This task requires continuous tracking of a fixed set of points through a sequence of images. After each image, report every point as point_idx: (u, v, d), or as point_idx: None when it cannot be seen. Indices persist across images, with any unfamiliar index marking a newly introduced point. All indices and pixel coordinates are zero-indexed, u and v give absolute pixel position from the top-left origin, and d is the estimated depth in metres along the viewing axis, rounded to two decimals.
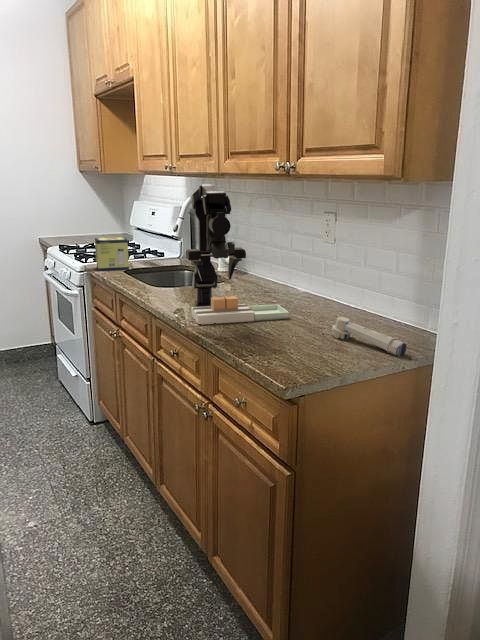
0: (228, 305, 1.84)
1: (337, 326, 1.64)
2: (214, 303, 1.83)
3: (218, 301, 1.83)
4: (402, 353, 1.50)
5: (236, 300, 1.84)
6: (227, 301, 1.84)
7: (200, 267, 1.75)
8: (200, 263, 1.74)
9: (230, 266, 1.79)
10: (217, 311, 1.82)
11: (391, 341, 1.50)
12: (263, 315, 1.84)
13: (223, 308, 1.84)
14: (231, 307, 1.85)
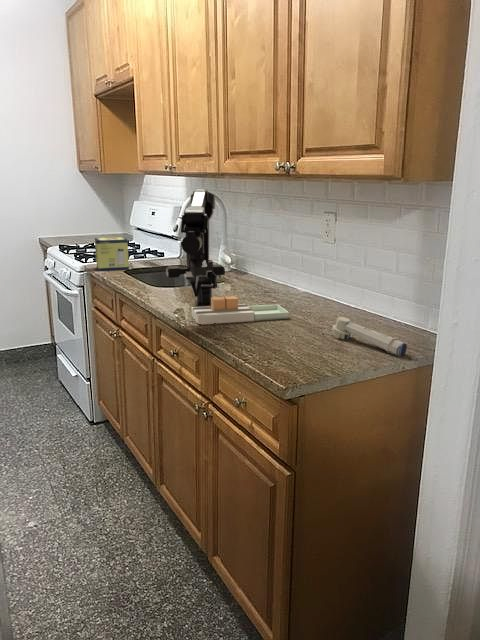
0: (228, 305, 1.84)
1: (337, 326, 1.64)
2: (214, 303, 1.83)
3: (218, 301, 1.83)
4: (402, 353, 1.49)
5: (236, 300, 1.84)
6: (227, 301, 1.84)
7: (193, 283, 1.80)
8: (193, 279, 1.79)
9: (197, 283, 1.81)
10: (217, 311, 1.82)
11: (391, 341, 1.50)
12: (263, 315, 1.84)
13: (223, 308, 1.84)
14: (231, 307, 1.85)
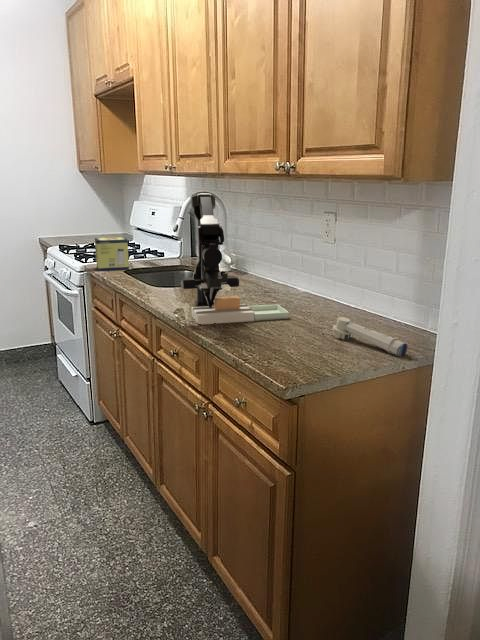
0: (230, 305, 1.84)
1: (338, 326, 1.64)
2: (218, 303, 1.83)
3: (221, 301, 1.83)
4: (403, 353, 1.49)
5: (238, 300, 1.85)
6: (229, 301, 1.84)
7: (208, 294, 1.82)
8: (208, 291, 1.81)
9: (211, 294, 1.84)
10: (217, 311, 1.82)
11: (392, 341, 1.50)
12: (263, 315, 1.84)
13: (226, 308, 1.84)
14: (233, 307, 1.85)
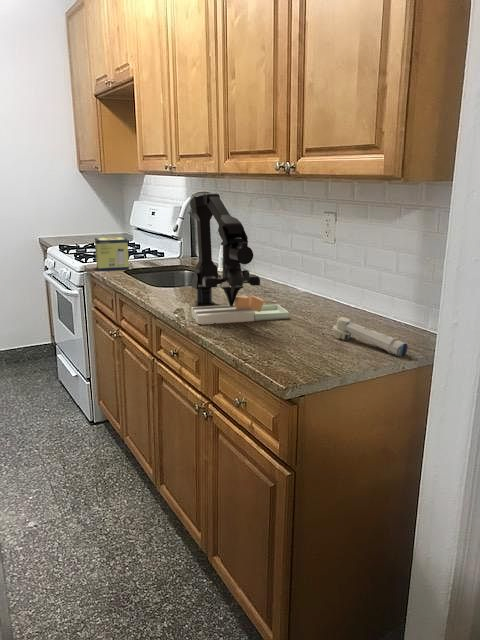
0: (253, 304, 1.86)
1: (338, 326, 1.64)
2: (238, 302, 1.85)
3: (242, 300, 1.85)
4: (403, 353, 1.49)
5: (261, 302, 1.87)
6: (253, 300, 1.86)
7: (229, 293, 1.84)
8: (229, 289, 1.82)
9: (232, 293, 1.85)
10: (217, 311, 1.82)
11: (392, 341, 1.50)
12: (263, 315, 1.84)
13: (247, 307, 1.86)
14: (255, 307, 1.87)
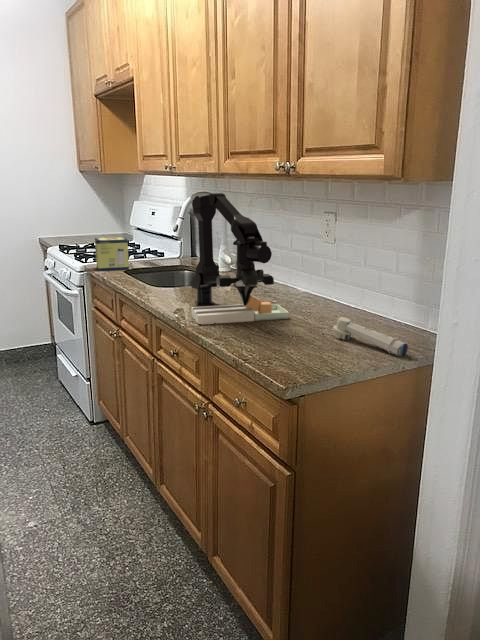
0: (265, 306, 1.87)
1: (338, 326, 1.64)
2: (251, 300, 1.86)
3: (255, 300, 1.86)
4: (403, 353, 1.49)
5: None
6: (269, 305, 1.87)
7: (243, 292, 1.85)
8: (243, 288, 1.84)
9: (246, 292, 1.87)
10: (217, 311, 1.82)
11: (392, 341, 1.50)
12: (263, 315, 1.84)
13: (256, 308, 1.87)
14: (263, 309, 1.87)
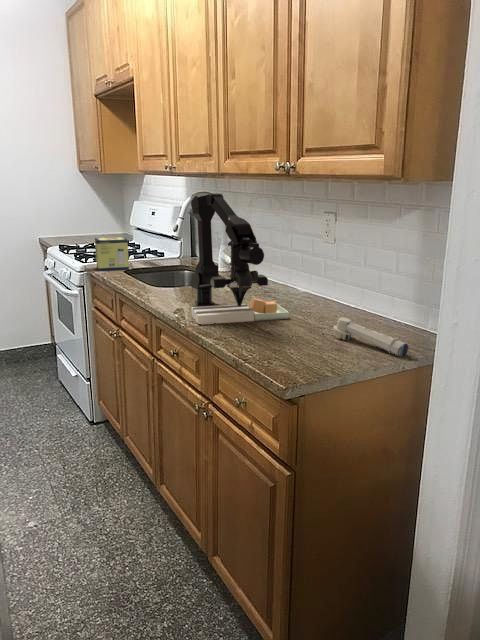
0: (270, 306, 1.88)
1: (338, 326, 1.64)
2: (255, 303, 1.87)
3: (259, 302, 1.87)
4: (404, 354, 1.49)
5: None
6: (274, 304, 1.88)
7: (237, 293, 1.85)
8: (237, 290, 1.83)
9: (240, 293, 1.86)
10: (217, 311, 1.82)
11: (393, 342, 1.50)
12: (263, 315, 1.84)
13: (261, 310, 1.88)
14: (268, 309, 1.88)
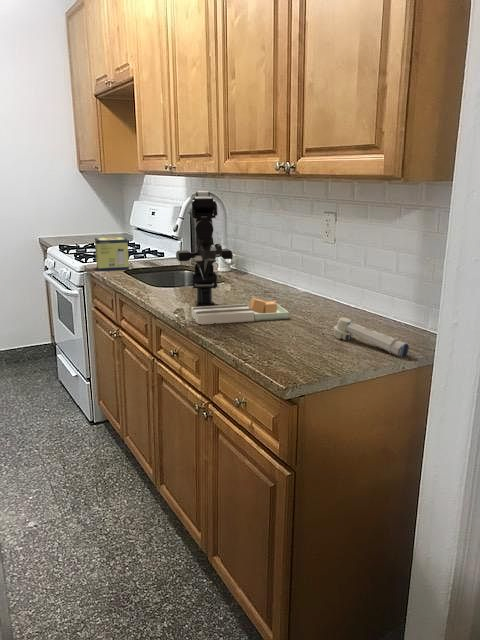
0: (270, 306, 1.88)
1: (339, 327, 1.64)
2: (255, 303, 1.87)
3: (259, 302, 1.87)
4: (404, 354, 1.49)
5: None
6: (274, 304, 1.88)
7: (202, 267, 1.88)
8: (202, 263, 1.87)
9: (205, 267, 1.90)
10: (217, 311, 1.82)
11: (393, 342, 1.49)
12: (263, 315, 1.84)
13: (261, 310, 1.88)
14: (268, 309, 1.88)
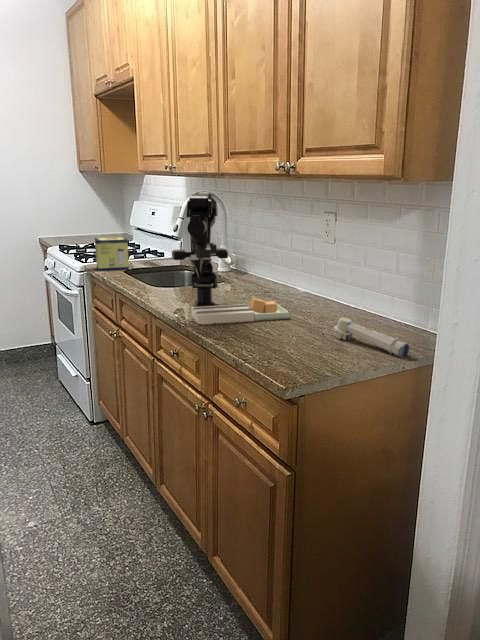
0: (270, 306, 1.88)
1: (339, 327, 1.64)
2: (255, 303, 1.87)
3: (259, 302, 1.87)
4: (404, 354, 1.49)
5: None
6: (274, 304, 1.88)
7: (198, 266, 1.89)
8: (198, 262, 1.88)
9: (201, 266, 1.91)
10: (217, 311, 1.82)
11: (393, 342, 1.49)
12: (263, 315, 1.84)
13: (261, 310, 1.88)
14: (268, 309, 1.88)
